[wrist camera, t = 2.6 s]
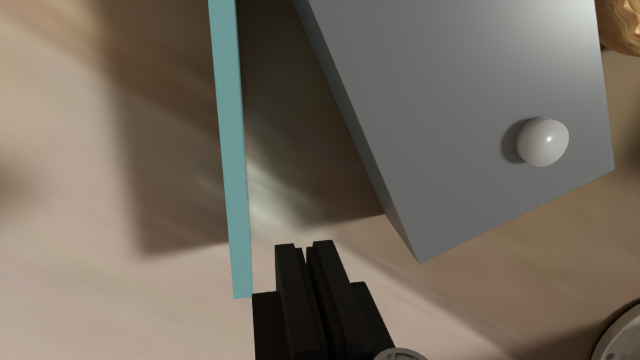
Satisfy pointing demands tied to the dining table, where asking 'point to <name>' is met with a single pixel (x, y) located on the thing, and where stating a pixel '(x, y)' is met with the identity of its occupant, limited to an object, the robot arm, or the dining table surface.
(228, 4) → the side door
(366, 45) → the camera body
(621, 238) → the dining table surface
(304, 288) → the robot arm
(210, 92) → the dining table surface
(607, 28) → the pastry
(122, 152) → the dining table surface
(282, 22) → the dining table surface
